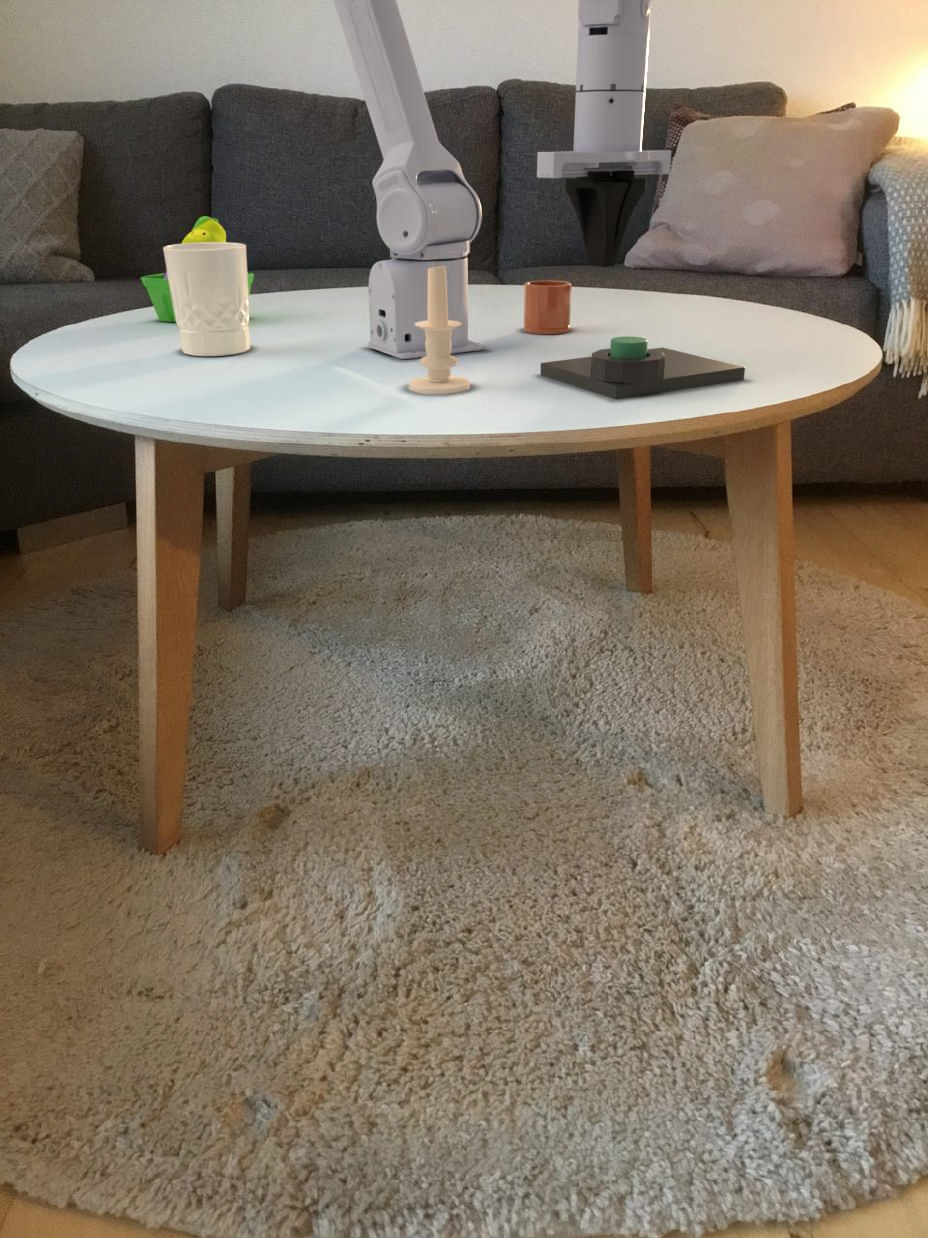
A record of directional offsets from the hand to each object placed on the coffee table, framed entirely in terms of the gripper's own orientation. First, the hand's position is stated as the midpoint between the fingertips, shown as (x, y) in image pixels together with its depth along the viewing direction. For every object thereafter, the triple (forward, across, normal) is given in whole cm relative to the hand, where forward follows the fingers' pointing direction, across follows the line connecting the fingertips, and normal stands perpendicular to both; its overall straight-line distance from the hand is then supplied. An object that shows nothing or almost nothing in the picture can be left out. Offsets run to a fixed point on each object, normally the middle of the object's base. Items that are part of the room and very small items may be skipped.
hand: (601, 265), depth 89 cm
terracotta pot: (+9, +11, +18) cm, 23 cm away
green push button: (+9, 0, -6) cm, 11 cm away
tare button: (+6, -5, -8) cm, 11 cm away
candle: (+9, -16, +3) cm, 19 cm away
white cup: (+9, -22, +32) cm, 40 cm away
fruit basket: (+10, -14, +51) cm, 53 cm away
